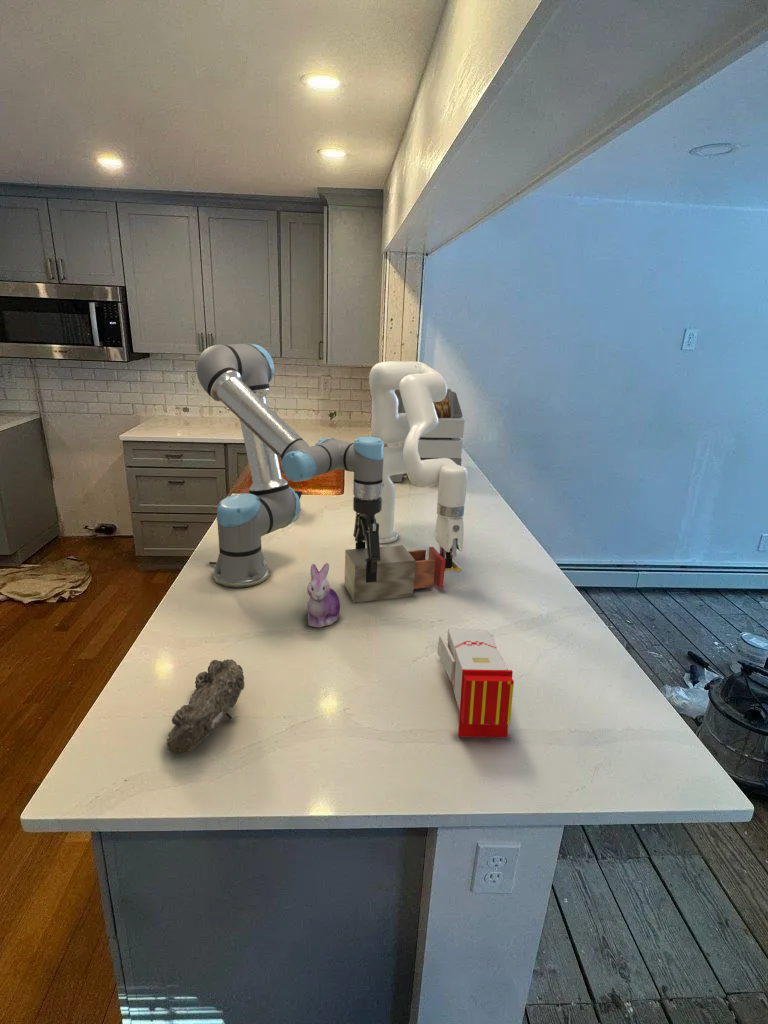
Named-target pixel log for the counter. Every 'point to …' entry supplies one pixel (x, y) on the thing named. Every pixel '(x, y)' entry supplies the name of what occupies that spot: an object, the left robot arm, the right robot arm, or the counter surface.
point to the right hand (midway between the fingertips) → (445, 569)
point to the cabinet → (380, 574)
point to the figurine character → (299, 494)
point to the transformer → (439, 432)
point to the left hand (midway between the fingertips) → (365, 572)
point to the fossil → (206, 705)
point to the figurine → (321, 599)
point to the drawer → (430, 568)
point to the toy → (478, 682)
